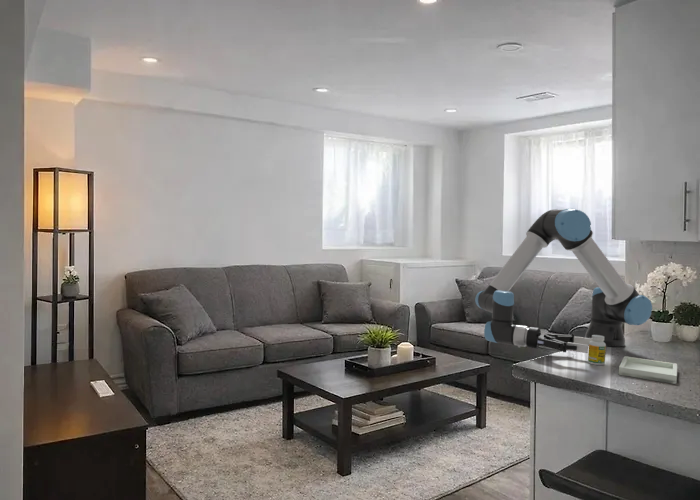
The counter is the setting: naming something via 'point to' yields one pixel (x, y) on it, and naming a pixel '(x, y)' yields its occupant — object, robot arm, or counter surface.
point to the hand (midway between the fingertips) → (590, 345)
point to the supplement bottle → (597, 350)
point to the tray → (648, 369)
